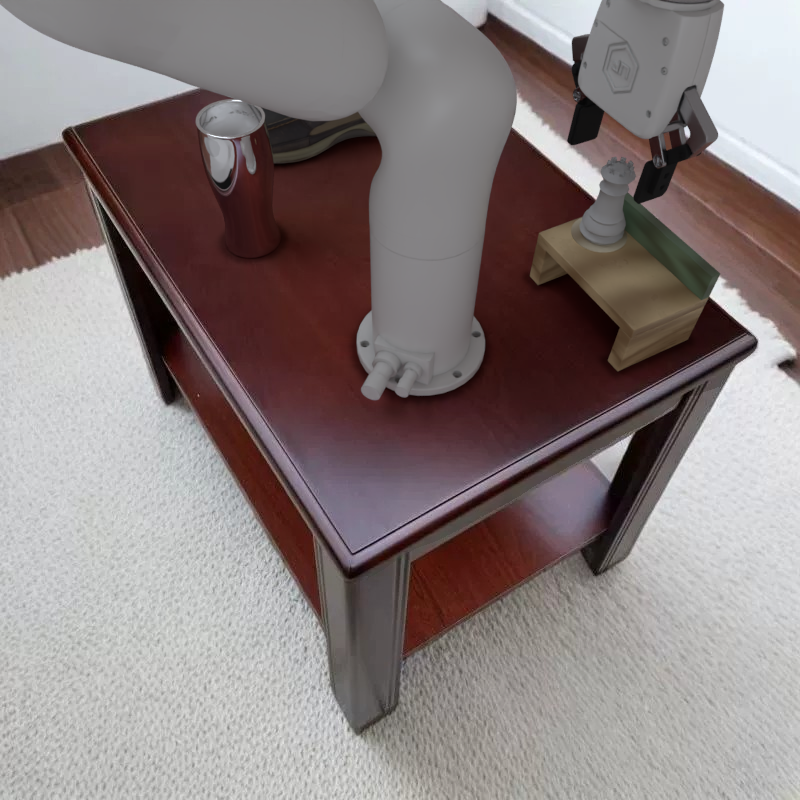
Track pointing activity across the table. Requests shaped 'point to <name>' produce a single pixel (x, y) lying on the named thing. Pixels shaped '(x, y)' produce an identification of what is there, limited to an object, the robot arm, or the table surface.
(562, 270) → the shelf
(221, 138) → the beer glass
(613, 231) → the rook chess piece
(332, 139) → the boat shoe
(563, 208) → the table surface
